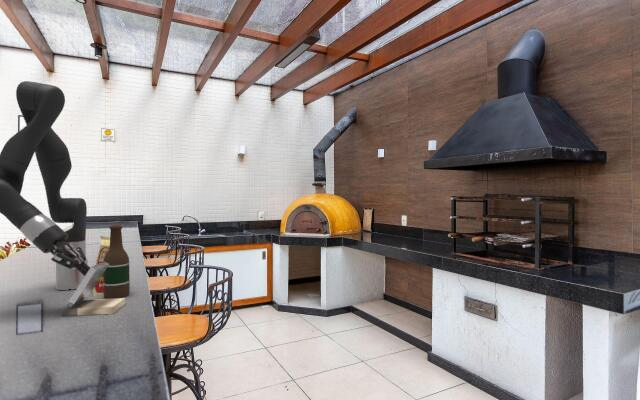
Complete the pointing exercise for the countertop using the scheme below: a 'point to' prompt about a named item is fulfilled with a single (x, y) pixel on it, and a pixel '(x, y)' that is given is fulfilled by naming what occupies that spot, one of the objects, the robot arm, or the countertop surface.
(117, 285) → the beer bottle
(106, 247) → the milk carton
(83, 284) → the slab
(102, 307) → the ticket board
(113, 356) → the countertop surface
